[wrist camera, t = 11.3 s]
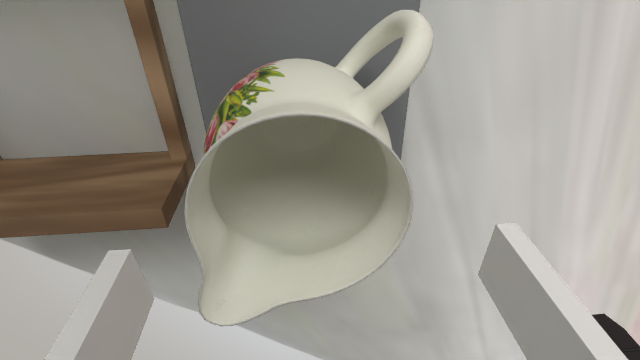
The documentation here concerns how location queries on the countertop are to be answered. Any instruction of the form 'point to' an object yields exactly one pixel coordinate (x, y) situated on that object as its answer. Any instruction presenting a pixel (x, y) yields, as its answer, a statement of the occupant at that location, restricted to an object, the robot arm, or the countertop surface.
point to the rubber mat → (285, 43)
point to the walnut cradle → (106, 166)
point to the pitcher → (302, 178)
